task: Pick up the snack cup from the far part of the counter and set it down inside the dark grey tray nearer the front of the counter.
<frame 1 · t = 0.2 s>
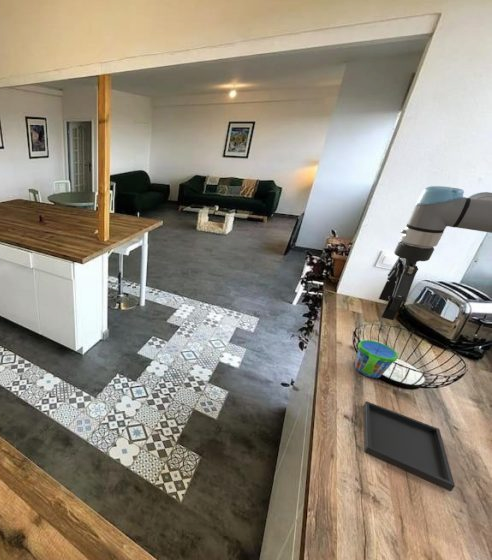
hand: (385, 308, 96), 28 cm above the countertop, tool pointing down, fingers open, 13 cm apart
snack cup: (366, 371, 111), on the countertop
dark grey tray: (401, 442, 86), on the countertop
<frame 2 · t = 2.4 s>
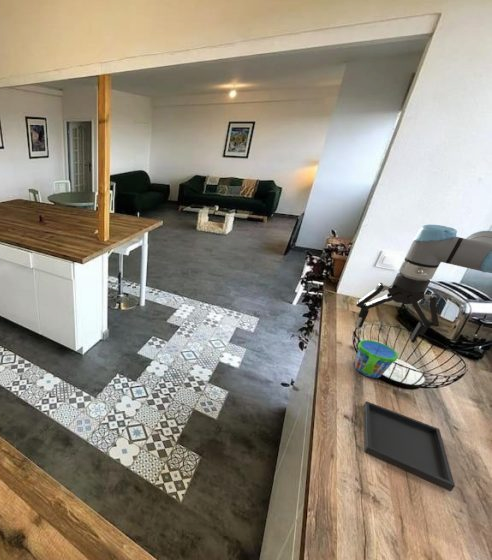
hand: (384, 332, 104), 17 cm above the countertop, tool pointing down, fingers open, 13 cm apart
nothing on the countertop moved.
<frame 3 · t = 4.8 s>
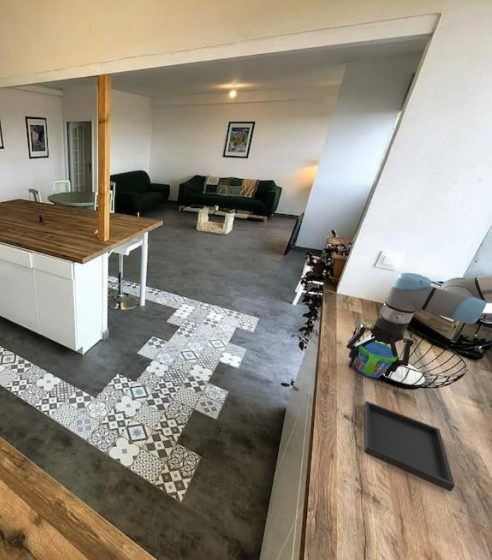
hand: (367, 370, 111), 0 cm above the countertop, tool pointing down, fingers closed on snack cup, 9 cm apart
snack cup: (367, 371, 111), on the countertop, touching gripper
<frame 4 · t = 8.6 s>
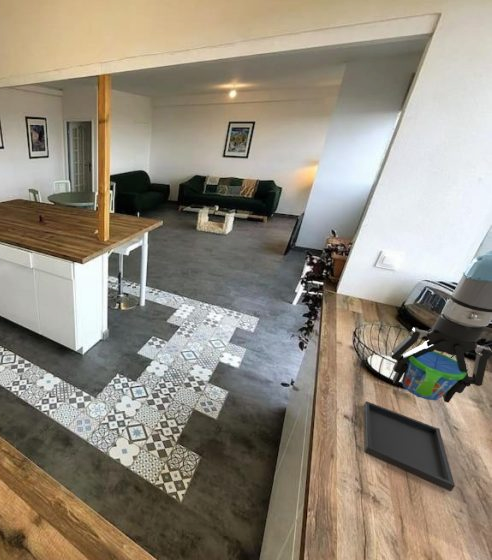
hand: (419, 389, 83), 16 cm above the countertop, tool pointing down, fingers closed on snack cup, 9 cm apart
snack cup: (418, 391, 83), point 15 cm above the countertop, touching gripper
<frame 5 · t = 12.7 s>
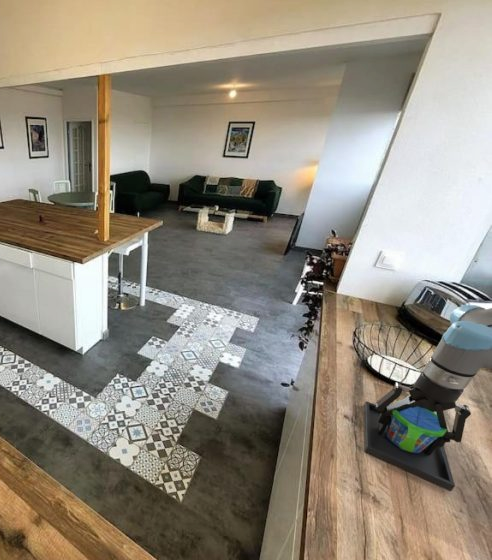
hand: (402, 440, 85), 1 cm above the countertop, tool pointing down, fingers closed on snack cup, 9 cm apart
snack cup: (402, 442, 86), resting on dark grey tray, touching gripper
when the fingers open (1 cm above the countertop, at t = 12.9 s): snack cup stays where it is, resting on dark grey tray.
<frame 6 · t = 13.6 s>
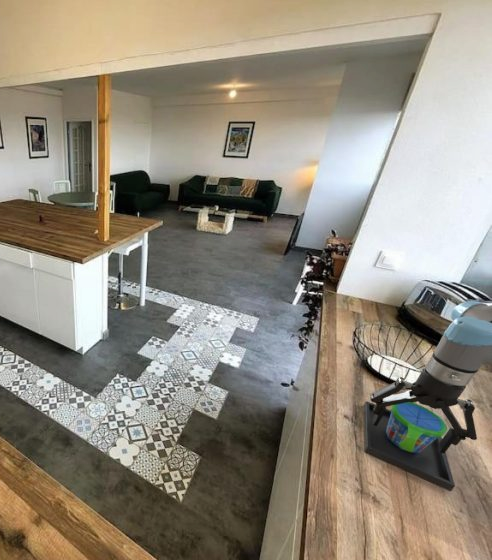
hand: (406, 435, 84), 3 cm above the countertop, tool pointing down, fingers open, 13 cm apart
snack cup: (402, 442, 86), resting on dark grey tray
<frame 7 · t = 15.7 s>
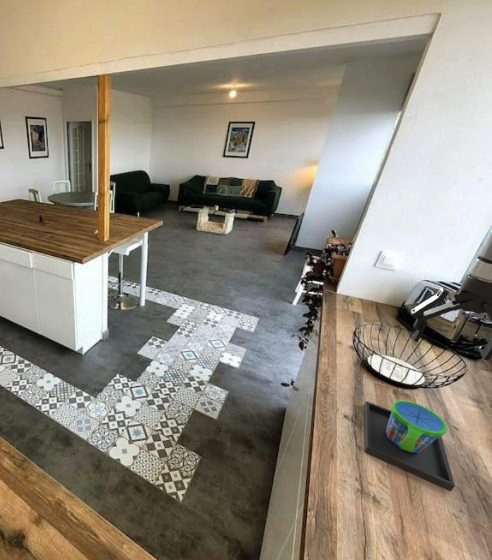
hand: (448, 348, 85), 24 cm above the countertop, tool pointing down, fingers open, 13 cm apart
nothing on the countertop moved.
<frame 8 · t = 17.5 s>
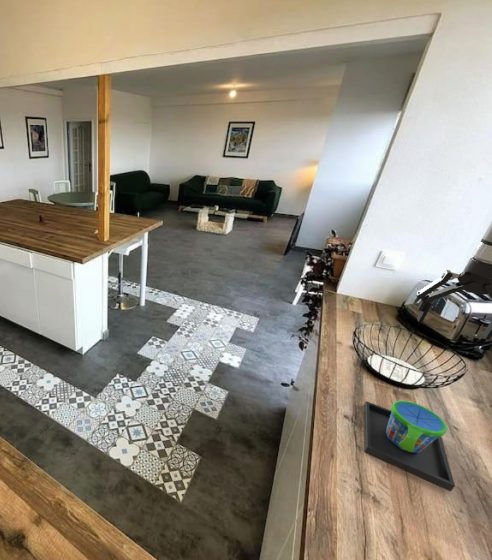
hand: (451, 328, 89), 27 cm above the countertop, tool pointing down, fingers open, 13 cm apart
nothing on the countertop moved.
at the end: snack cup inside the target area in the dark grey tray (0.1 cm from its centre), point 0.4 cm above the dark grey tray's base; snack cup tilted 0°; the gripper is holding nothing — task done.
